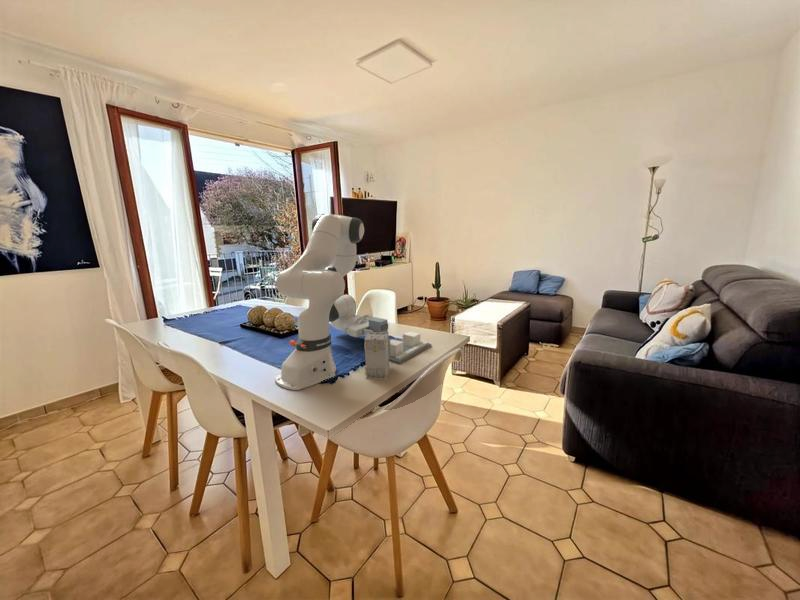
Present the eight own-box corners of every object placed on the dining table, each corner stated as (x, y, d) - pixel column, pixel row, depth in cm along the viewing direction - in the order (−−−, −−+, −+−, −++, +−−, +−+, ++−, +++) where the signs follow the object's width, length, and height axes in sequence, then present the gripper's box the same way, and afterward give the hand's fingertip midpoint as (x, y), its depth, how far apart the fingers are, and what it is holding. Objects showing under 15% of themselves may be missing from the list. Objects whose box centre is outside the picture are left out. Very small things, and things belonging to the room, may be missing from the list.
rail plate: (399, 364, 130) (399, 349, 129) (373, 356, 139) (372, 342, 137) (431, 346, 149) (431, 333, 148) (406, 340, 157) (406, 328, 156)
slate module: (382, 348, 148) (381, 322, 145) (369, 344, 152) (368, 319, 149) (388, 344, 152) (388, 319, 149) (376, 341, 156) (375, 317, 153)
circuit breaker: (391, 363, 132) (390, 327, 128) (386, 379, 118) (385, 339, 114) (372, 362, 132) (371, 326, 129) (365, 378, 119) (364, 339, 115)
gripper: (341, 324, 149) (363, 329, 141) (371, 314, 165) (393, 318, 157) (342, 337, 151) (364, 343, 142) (371, 326, 167) (393, 330, 158)
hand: (379, 330), depth 150 cm, fingers open, 7 cm apart
